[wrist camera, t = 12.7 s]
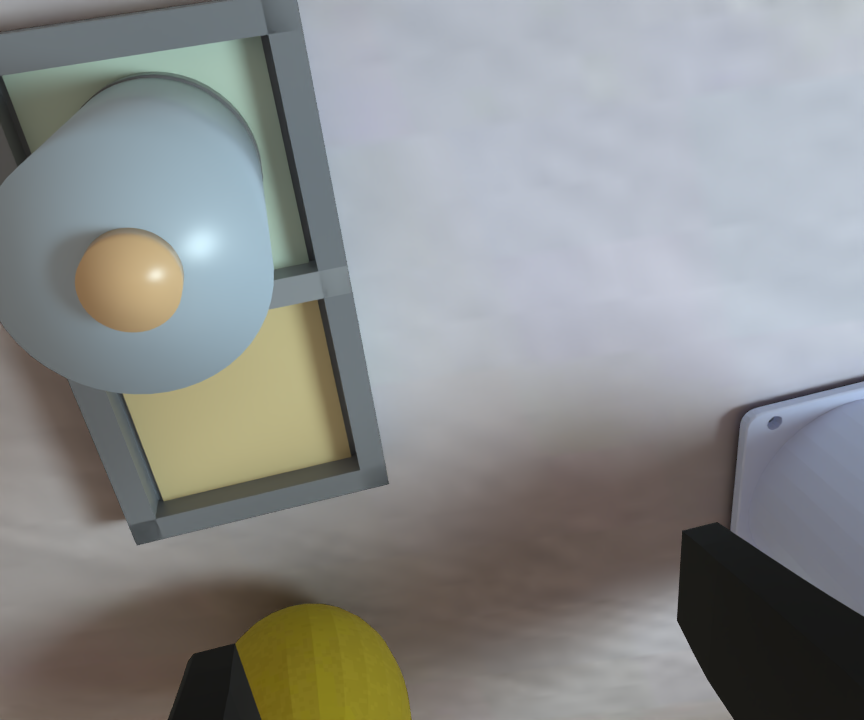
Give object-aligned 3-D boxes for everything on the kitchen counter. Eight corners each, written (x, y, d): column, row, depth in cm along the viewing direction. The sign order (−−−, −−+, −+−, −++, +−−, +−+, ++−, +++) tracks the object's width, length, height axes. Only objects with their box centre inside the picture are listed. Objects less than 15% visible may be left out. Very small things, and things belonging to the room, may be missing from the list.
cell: (242, 61, 16) (246, 120, 10) (276, 241, 18) (297, 384, 12) (41, 83, 15) (-86, 162, 9) (99, 268, 17) (25, 434, 11)
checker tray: (291, -12, 16) (295, -9, 15) (381, 459, 22) (389, 483, 21) (-52, 39, 15) (-72, 45, 14) (141, 516, 21) (137, 545, 20)
